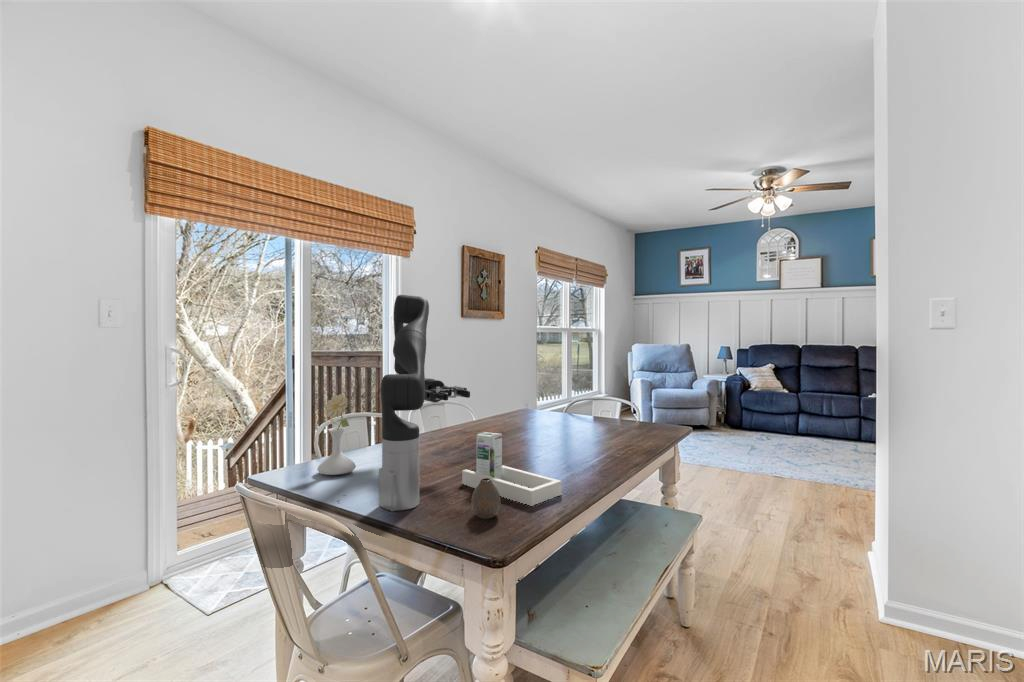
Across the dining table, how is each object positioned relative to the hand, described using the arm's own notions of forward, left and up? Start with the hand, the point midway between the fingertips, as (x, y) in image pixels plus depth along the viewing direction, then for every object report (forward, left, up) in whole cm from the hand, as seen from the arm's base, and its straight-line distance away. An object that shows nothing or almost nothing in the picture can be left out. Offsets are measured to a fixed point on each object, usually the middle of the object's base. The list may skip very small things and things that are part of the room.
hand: (458, 395), depth 153 cm
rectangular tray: (0, -23, -24) cm, 33 cm away
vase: (-18, -32, -25) cm, 44 cm away
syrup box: (0, -14, -24) cm, 28 cm away
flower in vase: (-26, +27, -24) cm, 45 cm away
